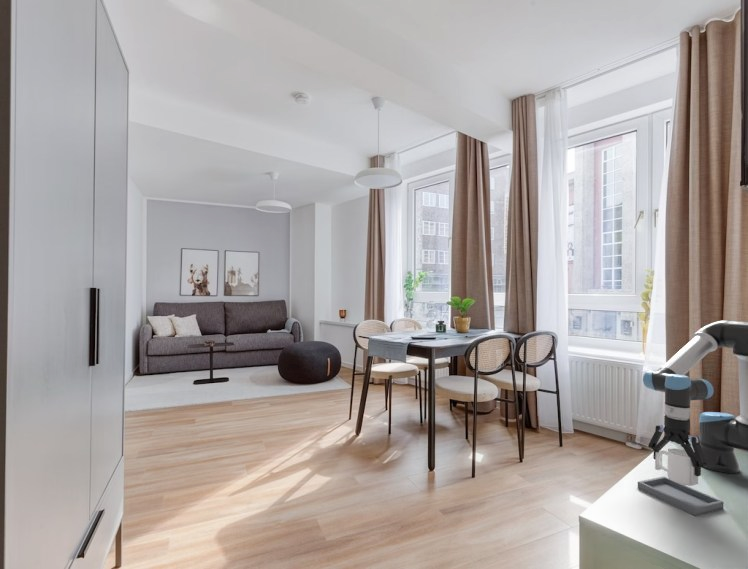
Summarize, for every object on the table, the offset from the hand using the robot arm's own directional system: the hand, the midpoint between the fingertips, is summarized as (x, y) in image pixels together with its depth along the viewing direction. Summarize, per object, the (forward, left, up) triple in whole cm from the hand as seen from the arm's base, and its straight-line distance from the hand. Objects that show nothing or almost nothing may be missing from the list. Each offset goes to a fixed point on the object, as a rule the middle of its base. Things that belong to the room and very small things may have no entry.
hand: (675, 476), depth 146 cm
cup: (0, 0, -1) cm, 1 cm away
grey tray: (0, +1, -7) cm, 8 cm away
